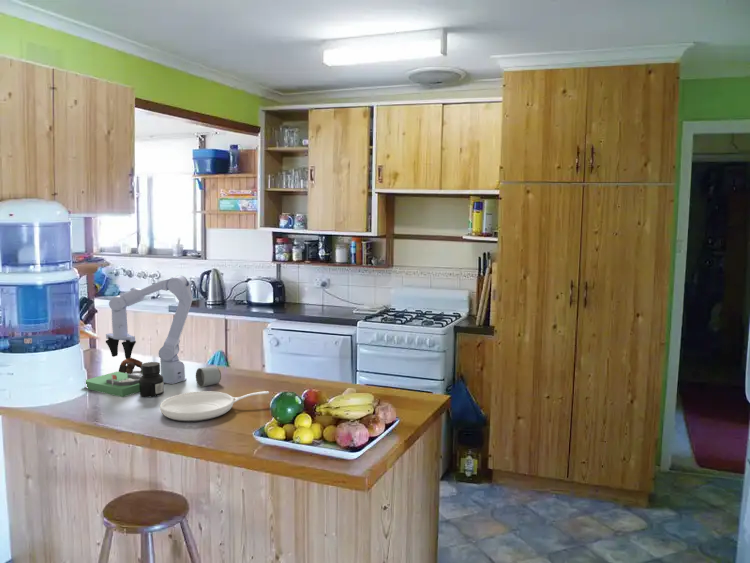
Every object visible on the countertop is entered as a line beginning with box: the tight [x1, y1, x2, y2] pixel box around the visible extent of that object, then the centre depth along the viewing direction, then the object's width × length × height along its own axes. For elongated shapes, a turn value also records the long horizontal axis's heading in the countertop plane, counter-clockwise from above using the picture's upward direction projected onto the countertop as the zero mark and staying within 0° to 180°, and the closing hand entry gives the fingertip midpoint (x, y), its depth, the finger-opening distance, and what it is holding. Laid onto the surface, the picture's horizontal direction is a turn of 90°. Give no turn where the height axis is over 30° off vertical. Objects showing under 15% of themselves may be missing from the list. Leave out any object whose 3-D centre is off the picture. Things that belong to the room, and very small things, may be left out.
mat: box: [85, 371, 142, 398], centre depth 247 cm, size 24×16×4 cm, turn 60°
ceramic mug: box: [195, 366, 222, 388], centre depth 251 cm, size 11×8×8 cm
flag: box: [111, 374, 117, 387], centre depth 237 cm, size 3×1×8 cm, turn 60°
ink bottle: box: [139, 361, 165, 398], centre depth 237 cm, size 10×9×12 cm
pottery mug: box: [118, 357, 143, 374], centre depth 267 cm, size 12×10×8 cm
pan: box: [159, 390, 270, 422], centre depth 219 cm, size 25×38×5 cm, turn 111°
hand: (121, 357), depth 254 cm, fingers open, 7 cm apart
